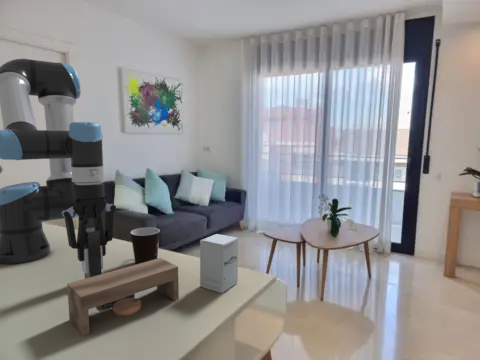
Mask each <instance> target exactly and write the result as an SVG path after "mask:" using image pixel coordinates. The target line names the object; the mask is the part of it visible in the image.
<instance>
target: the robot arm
mask: <svg viewBox="0 0 480 360" xmlns="http://www.w3.org/2000/svg"><path fill="white" fill-rule="evenodd" d="M30 96H35V97H37V99H38V100H37V101H38V103H40V105H42V106H43V107H44V108H43V109H44V117H45V118H44V120H45V128H46V130H45V129H44V130H43V129H42V130H41V129H38V127H37V123H36V119H35V116H34V115H35V114H34V112H33V107H32V106H33V105H32V103H31V100H30V99H31V98H30ZM80 97H81V82H80V78H79V74H78V71H77V70H76V68H75V67H74V66H73V65H72V64H67V63H62V62H55V61H54V62H53V61H47V60H46V61H45V60H38V59H37V60H36V59H29V58H15V59H11V60H9V61H6V62H5V63H3V64H2V65H0V113H1V118H2V119H1V120H2V127H3V129H0V160H7V161H8V160H11V161H12V160H13V161H14V160H15V161H23V160H24V161H25V160H45V159H47V160H49V170H50V175H49V177H47V179H46V180H45V183H46V185H41V184H40V182H38V181H29V182H28V181H27V182H21V183H15V184H10V185H7V186H4V187H1V188H0V264H3V265H4V264H6V265H7V264H8V265H9V264H10V265H13V264H21V263H28V262H31V261H32V262H33V261H35V260H38V259H42V258H44V257H46V256H48V255H50V253H51V244H50V243H49V241H48V238H47V236H46V234H45V231H44V230H43V222H49V221H56V220H57V221H58V220H64V223H65V229H66V236H67V241H68V246H69V247H70V248H71V249H74V250H75V249H76V250H77V252H76V253H77V259H78V261H79V262H81V271H82V272H83V273H84V272H85V273H86V274H87V273H89V264H88V249H87V248H86V247H85V238H86V229H87V227H88V223H89V219H92V220H93V224H94V228H96V229H98V230H100V250H101V271H102V270H104V258H103V257H105V256H106V254H107V247H106V246H107V245H108V242H112V241H113V237H114V236H113V233H114V214H115V212H116V209H117V205H115V204H112V203H108V202H107V200H106V199H105V183H103V182H104V180H105V179H104V178H105V176H104V175H105V174H104V158H103V157H104V155H103V152H104V151H103V133H102V126H101V125H100V123H98V122H89V121H88V122H87V121H86V122H84V121H81V122H80V121H75V122H74V114H73V107H74V105H75V104H76V103H77V99H80ZM103 211H105V216H104V217H105V219H104V223H105V224H104V225H103V221H102V220H103V217H102V213H103ZM75 218H78V219H77V220H78V227H77V236H76V229H75V224H74V219H75ZM85 273H84V274H85Z"/></svg>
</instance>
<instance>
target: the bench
mask: <svg viewBox="0 0 480 360" xmlns="http://www.w3.org/2000/svg"><path fill="white" fill-rule="evenodd" d="M66 284H67V285H66V286H67V300H68V317H69V318H68V320H69V321H70V322H71V323H72V325H73V326H74V327H75V328H76V329H77V331H78V332H79V333H80V334H81V335H82V336H83V337H85V336H87V335H89V334H90V316H89V314H90V313H89V310H91V309H93V308H97V307H100V306H103V304H106V303H109V302H112V301H115V300H118V299H121V298H124V297H127V296H129V295H132V294H138V293H140V292H144V291H147V290H149V289H150V290H151V289H152V288H156V290H157V291H159V292H160V293H162V294H164V295H165V296H167V297H169V298H170V299H172V300H173V301H176V300H179V298H180V297H179V293H180V290H179V266H178V265H176V264H173V263H171V262H169V261H167V260H165V259H163V258H161V257H157V259H154V260H151V261H147V262H144V263H140V264H137V265H136V264H133V265H130V266H126V267H122V268H119V269H116V270H113V271H109V272H105V273H102V274H101V275H97V276H93V277H90V278H86V279H85V278H83V279H81V280H76V281H72V282H69V283H66Z"/></svg>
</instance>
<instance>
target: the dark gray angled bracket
mask: <svg viewBox="0 0 480 360" xmlns="http://www.w3.org/2000/svg"><path fill="white" fill-rule="evenodd" d="M85 247H86V248H87V249H88V264H89V273H87V274H86V273H85V272H83V273H84V279H86V278H90V277H93V276H97V275H101V274H103V273H102V270H101V250H100V230H98V229H96V228H95V226H94V227H89V228H87V229H86V238H85ZM135 294H136V293H135ZM135 294H132V295H129V296H127V297H124V298H121V299H118V300H115V301H112V302H109V303H106V304H103V305H102V306H103V307H104V308H109V307H111V306H112V307H113V306H114V304H115V303H116V302H118V301H120V300H123V299H127V298H136V296H135Z"/></svg>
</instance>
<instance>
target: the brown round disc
mask: <svg viewBox="0 0 480 360" xmlns="http://www.w3.org/2000/svg"><path fill="white" fill-rule="evenodd" d="M141 310H142V300H141V299H140V298H137V297H135V298H127V299H123V300H120V301H118V302H116V303H115V304H114V305H112V311H113V314H114V315H116V316H121V317H123V316H124V317H125V316H131V315H134V314H137V313H138V312H139V311H141Z"/></svg>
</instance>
